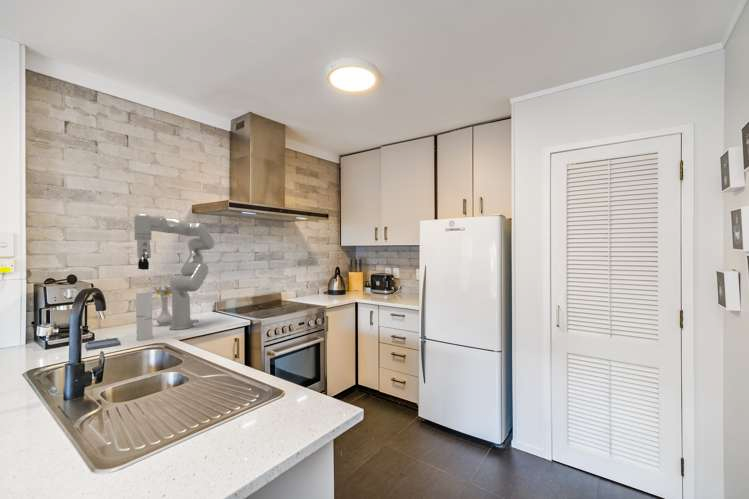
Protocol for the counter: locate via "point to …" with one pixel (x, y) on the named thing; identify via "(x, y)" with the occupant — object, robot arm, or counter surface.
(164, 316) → the flower vase
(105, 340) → the slate tray
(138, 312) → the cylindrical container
